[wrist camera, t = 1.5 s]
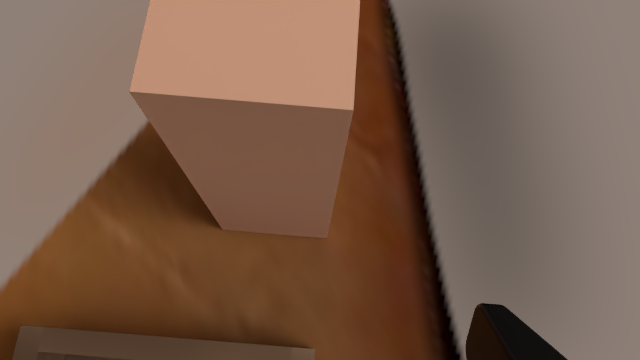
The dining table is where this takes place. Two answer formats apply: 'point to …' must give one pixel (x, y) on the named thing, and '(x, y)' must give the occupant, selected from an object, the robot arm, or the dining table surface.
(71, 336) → the walnut slot tray
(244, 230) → the terracotta peg
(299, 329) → the dining table surface
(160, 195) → the dining table surface
